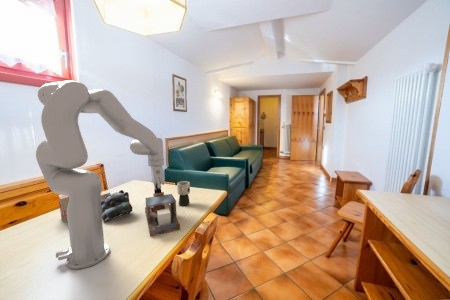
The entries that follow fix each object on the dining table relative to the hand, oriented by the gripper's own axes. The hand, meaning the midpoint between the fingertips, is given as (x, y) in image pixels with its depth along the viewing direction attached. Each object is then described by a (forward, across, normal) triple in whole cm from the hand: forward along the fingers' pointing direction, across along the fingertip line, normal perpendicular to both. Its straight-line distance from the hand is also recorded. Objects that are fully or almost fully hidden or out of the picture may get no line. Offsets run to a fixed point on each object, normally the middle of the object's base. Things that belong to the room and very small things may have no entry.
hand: (158, 196), depth 102 cm
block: (+7, -18, 0) cm, 19 cm away
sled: (+6, -13, 0) cm, 14 cm away
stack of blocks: (+9, +18, +34) cm, 39 cm away
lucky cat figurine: (+9, +7, +20) cm, 23 cm away
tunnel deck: (+9, -9, 0) cm, 13 cm away
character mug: (+10, +6, -15) cm, 19 cm away
